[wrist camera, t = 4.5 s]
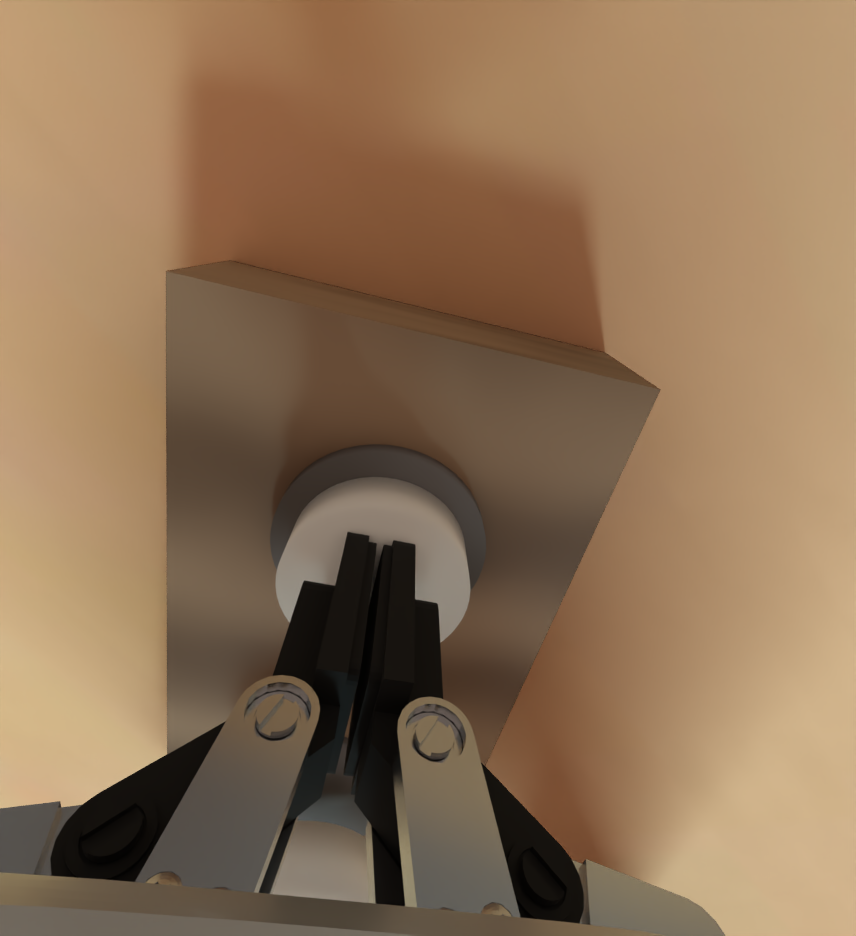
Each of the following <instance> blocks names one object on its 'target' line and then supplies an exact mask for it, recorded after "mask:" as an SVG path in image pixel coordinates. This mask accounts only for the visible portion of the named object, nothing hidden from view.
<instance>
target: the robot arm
mask: <svg viewBox="0 0 856 936" xmlns="http://www.w3.org/2000/svg"><path fill="white" fill-rule="evenodd" d="M376 548H377V543H373V542H369V536H368V535H363V534H358V533H352V532H348V533H347V537H346V541H345V545H344V550H343V554H342V558H341V563H340V567H339V571H338V576H337V580H336V584H335V586H334V585H328V584H323V583H317V582H311V581H305V580H304V582H303V584H302V587H301V590H300V593H299V596H298V599H297V602H296V605H295V608H294V611H293V614H292V617H291V620H290V624H289V627H288V630H287V633H286V636H285V639H284V642H283V645H282V648H281V651H280V654H279V657H278V661H277V664H276V667H275V670H274V673H273V676H269V677H267V678H264V679H262V680H259V681H257V682H255V683H254V684H253V685H251V686H250V687H248V688H247V689H246V690H245V692H244V693H243V694H242V695H241V697H240V698H239V699H238V701H237V703H236V705H235V706H234V708H233V710H232V712H231V713H230V715H229V717H228V719H227V721H225V722H223V723H222V724H220V725H218V726H216V727H215V728H213V729H211V730H209V731H208V732H206V733H204V734H202V735H201V736H199V737H197V738H195V739H194V740H192V741H190V742H188V743H186V744H185V745H183V746H181V747H179V748H178V749H176V750H174V751H172V752H171V753H169V754H167V755H165V756H164V757H162V758H160V759H158V760H157V761H155V762H153V763H151V764H150V765H148V766H146V767H144V768H142V769H141V770H139V771H137V772H135V773H134V774H132V775H130V776H128V777H127V778H125V779H123V780H121V781H120V782H118V783H116V784H114V785H113V786H111V787H109V788H107V789H106V790H104V791H102V792H100V793H99V794H97V795H95V796H94V797H93V798H91V799H90V800H88V801H87V802H86V803H84V804H83V805H78V806H70V807H62V808H61V804H60V801H59V802H51V803H43V804H34V805H26V806H18V807H10V808H1V809H0V936H725V934H724V933H723V931H722V930H721V928H720V927H719V925H718V924H717V922H716V921H715V920H714V919H713V918H712V917H711V916H710V915H709V914H708V913H707V912H706V911H705V910H704V909H703V908H702V907H701V906H699V905H697V904H696V903H694V902H692V901H691V900H689V899H687V898H685V897H682V896H680V895H677V894H674V893H672V892H669V891H667V890H664V889H662V888H659V887H657V886H654V885H651V884H649V883H646V882H644V881H641V880H639V879H636V878H633V877H631V876H628V875H626V874H623V873H621V872H618V871H616V870H613V869H610V868H608V867H605V866H603V865H600V864H598V863H595V862H593V861H590V860H587V859H586V860H585V861H584V862H583V864H581V863H579V862H576V861H574V860H572V859H571V858H570V857H569V855H568V854H567V853H566V851H565V850H564V849H563V848H562V846H561V845H560V844H559V843H558V842H557V841H556V840H555V839H554V838H553V837H552V836H551V835H550V834H549V833H548V832H547V831H546V829H545V828H544V827H543V826H542V825H541V824H540V823H539V822H538V821H537V820H536V819H535V818H534V817H533V816H532V815H531V814H530V813H529V812H528V811H527V810H526V809H525V808H524V806H523V805H522V804H521V803H520V802H519V801H518V800H517V799H516V798H515V797H514V796H513V795H512V794H511V793H510V792H509V791H508V790H507V789H506V788H505V787H504V786H503V785H502V783H501V782H500V781H499V780H498V779H497V778H496V777H495V776H494V775H493V774H492V773H491V772H490V771H489V770H488V769H487V768H486V767H485V766H484V765H483V764H482V763H481V760H480V756H479V752H478V749H477V745H476V741H475V737H474V733H473V730H472V727H471V725H470V723H469V720H468V719H467V718H466V716H465V715H464V714H463V712H462V711H461V710H460V709H458V708H457V707H456V706H455V705H453V704H452V703H450V702H448V701H446V700H444V699H443V684H442V665H441V645H440V626H439V609H438V604H437V603H434V602H428V601H422V600H416V599H415V558H416V546H415V544H412V543H406V542H401V541H396V540H393V543H392V546H390V545H384V546H383V549H382V553H381V558H380V562H379V566H378V570H377V574H376V578H375V583H374V587H373V591H372V595H371V599H370V594H371V586H372V579H373V571H374V564H375V556H376ZM369 602H370V604H369ZM352 704H353V706H352ZM351 708H352V714H351V721H350V728H349V735H348V743H347V750H346V757H345V764H344V773H343V775H345V776H353V779H352V787H351V795H355V799H354V802H355V803H356V805H357V806H358V808H359V809H360V810H361V812H362V813H363V814H364V816H365V817H366V818H367V821H366V852H367V875H368V898H369V903H364V902H353V901H342V900H331V899H320V898H310V897H299V896H288V895H277V894H273V891H274V888H275V885H276V882H277V879H278V877H279V874H280V871H281V868H282V865H283V862H284V859H285V856H286V853H287V850H288V848H289V845H290V842H291V839H292V836H293V833H294V830H295V827H296V824H297V821H298V816H299V815H300V814H301V813H303V812H304V811H305V810H306V809H308V808H309V807H310V806H311V805H312V804H314V803H315V802H316V801H317V800H319V799H320V798H321V795H322V791H323V787H324V783H325V778H326V774H327V773H328V774H335V772H336V768H337V764H338V760H339V756H340V752H341V748H342V744H343V740H344V736H345V732H346V728H347V724H348V720H349V716H350V712H351Z"/></svg>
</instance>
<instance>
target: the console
mask: <svg viewBox="0 0 856 936" xmlns="http://www.w3.org/2000/svg"><path fill="white" fill-rule="evenodd" d="M659 392H660V389H659V388H657V387H656V386H654V385H653V384H651V383H650V382H648V381H647V380H645V379H644V378H642V377H641V376H639V375H638V374H636V373H635V372H633V371H632V370H630V369H629V368H627V367H626V366H624V365H623V364H621V363H620V362H618V361H617V360H615V359H614V358H612V357H611V356H609V355H608V354H606V353H604V352H600V351H596V350H592V349H588V348H584V347H580V346H575V345H571V344H567V343H563V342H559V341H555V340H551V339H547V338H543V337H539V336H535V335H531V334H527V333H523V332H519V331H514V330H510V329H506V328H502V327H498V326H494V325H490V324H486V323H482V322H478V321H474V320H470V319H466V318H462V317H458V316H453V315H449V314H445V313H441V312H437V311H433V310H429V309H425V308H421V307H417V306H413V305H409V304H405V303H401V302H396V301H392V300H388V299H384V298H380V297H376V296H372V295H368V294H364V293H360V292H356V291H352V290H348V289H344V288H340V287H335V286H331V285H327V284H323V283H319V282H315V281H311V280H307V279H303V278H299V277H295V276H291V275H287V274H283V273H279V272H274V271H270V270H266V269H262V268H258V267H254V266H250V265H246V264H242V263H238V262H234V261H224V262H218V263H212V264H206V265H200V266H194V267H188V268H182V269H176V270H170V271H166V445H167V754H169V753H171V752H172V751H174V750H176V749H178V748H179V747H181V746H183V745H185V744H186V743H188V742H190V741H192V740H194V739H195V738H197V737H199V736H201V735H202V734H204V733H206V732H208V731H209V730H211V729H213V728H215V727H216V726H218V725H220V724H222V723H223V722H225V721H227V719H228V717H229V715H230V713H231V712H232V710H233V708H234V706H235V705H236V703H237V701H238V699H239V698H240V697H241V695H242V694H243V693H244V692H245V690H246V689H247V688H248V687H250V686H251V685H253V684H254V683H255V682H257V681H259V680H262V679H264V678H267V677H269V676H273V673H274V670H275V667H276V664H277V661H278V657H279V654H280V651H281V648H282V645H283V642H284V639H285V636H286V633H287V630H288V627H289V624H290V623H289V621H288V620H287V618H286V617H285V615H284V613H283V611H282V609H281V607H280V605H279V602H278V598H277V594H276V586H275V584H276V572H277V568H278V564H279V562H280V559H281V557H282V554H283V552H284V550H285V547H286V545H287V542H288V540H289V538H290V535H291V533H292V531H293V528H294V526H295V524H296V521H297V519H298V517H299V516H300V514H301V512H302V511H303V509H304V508H305V507H306V506H307V505H308V503H309V502H310V501H312V500H313V499H314V498H315V497H316V496H317V495H319V494H320V493H322V492H323V491H325V490H326V489H328V488H330V487H332V486H334V485H336V484H339V483H342V482H345V481H348V480H353V479H357V478H365V477H386V478H393V479H398V480H402V481H406V482H409V483H412V484H414V485H417V486H419V487H421V488H423V489H425V490H427V491H428V492H430V493H431V494H433V495H434V496H436V497H437V498H438V499H440V500H441V501H442V502H443V503H444V504H445V505H446V506H447V507H448V508H449V510H450V511H451V512H452V513H453V515H454V516H455V518H456V520H457V521H458V523H459V526H460V528H461V531H462V534H463V538H464V542H465V549H466V556H467V563H468V571H469V578H470V599H469V603H468V607H467V610H466V612H465V614H464V617H463V619H462V620H461V622H460V623H459V625H458V626H457V627H456V629H455V630H454V631H453V632H452V633H451V634H450V635H449V636H448V637H447V638H446V639H445V640H443V641H442V642H441V643H440V645H441V665H442V684H443V699H444V700H446V701H448V702H450V703H452V704H453V705H455V706H456V707H457V708H458V709H460V710H461V711H462V712H463V714H464V715H465V716H466V718H467V719H468V720H469V723H470V725H471V727H472V730H473V733H474V737H475V741H476V745H477V749H478V752H479V756H480V760H481V763H482V764H483V765H484V766H485V765H486V763H487V761H488V759H489V756H490V754H491V752H492V750H493V748H494V746H495V744H496V741H497V739H498V737H499V735H500V733H501V731H502V729H503V726H504V724H505V722H506V720H507V718H508V716H509V714H510V711H511V709H512V707H513V705H514V703H515V701H516V699H517V696H518V694H519V692H520V690H521V688H522V686H523V683H524V681H525V679H526V677H527V675H528V673H529V671H530V668H531V666H532V664H533V662H534V660H535V658H536V656H537V653H538V651H539V649H540V647H541V645H542V643H543V641H544V638H545V636H546V634H547V632H548V630H549V628H550V626H551V623H552V621H553V619H554V617H555V615H556V613H557V611H558V608H559V606H560V604H561V602H562V600H563V598H564V596H565V593H566V591H567V589H568V587H569V585H570V583H571V581H572V578H573V576H574V574H575V572H576V570H577V568H578V566H579V563H580V561H581V559H582V557H583V555H584V553H585V551H586V548H587V546H588V544H589V542H590V540H591V538H592V535H593V533H594V531H595V529H596V527H597V525H598V523H599V520H600V518H601V516H602V514H603V512H604V510H605V508H606V505H607V503H608V501H609V499H610V497H611V495H612V493H613V490H614V488H615V486H616V484H617V482H618V480H619V478H620V475H621V473H622V471H623V469H624V467H625V465H626V463H627V460H628V458H629V456H630V454H631V452H632V450H633V448H634V445H635V443H636V441H637V439H638V437H639V435H640V433H641V430H642V428H643V426H644V424H645V422H646V420H647V418H648V415H649V413H650V411H651V409H652V407H653V405H654V402H655V400H656V398H657V396H658V394H659ZM352 706H353V704H352ZM351 714H352V708H351V712H350V716H349V720H348V724H347V728H346V732H345V736H344V740H343V744H342V748H341V752H340V756H339V760H338V764H337V768H336V772H335V774H328V773H327V774H326V778H325V783H324V787H323V791H322V795H321V798H320V799H319V800H317V801H316V802H315V803H314V804H312V805H311V806H310V807H309V808H308V809H306V810H305V811H304V812H303V813H301V814H300V815H299V816H298V821H320V822H327V823H332V824H336V825H340V826H343V827H346V828H348V829H351V830H353V831H355V832H357V833H359V834H361V835H362V836H363V837H365V838H366V821H367V818H366V817H365V816H364V814H363V813H362V812H361V810H360V809H359V808H358V806H357V805H356V803H355V802H354V799H355V795H351V787H352V779H353V776H345V775H343V773H344V764H345V757H346V750H347V743H348V735H349V728H350V721H351Z"/></svg>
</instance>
